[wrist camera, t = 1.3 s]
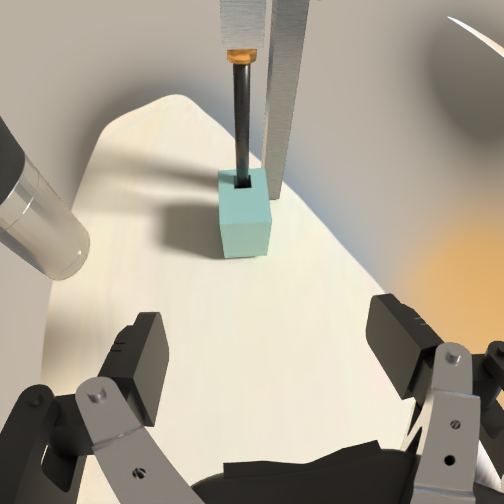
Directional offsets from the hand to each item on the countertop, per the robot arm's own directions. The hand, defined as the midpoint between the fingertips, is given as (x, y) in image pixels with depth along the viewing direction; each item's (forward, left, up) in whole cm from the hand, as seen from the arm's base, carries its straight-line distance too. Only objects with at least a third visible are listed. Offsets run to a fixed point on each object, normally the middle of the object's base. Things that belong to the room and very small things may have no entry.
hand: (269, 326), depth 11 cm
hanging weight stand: (-12, +16, -23) cm, 30 cm away
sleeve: (-10, +11, -22) cm, 26 cm away
